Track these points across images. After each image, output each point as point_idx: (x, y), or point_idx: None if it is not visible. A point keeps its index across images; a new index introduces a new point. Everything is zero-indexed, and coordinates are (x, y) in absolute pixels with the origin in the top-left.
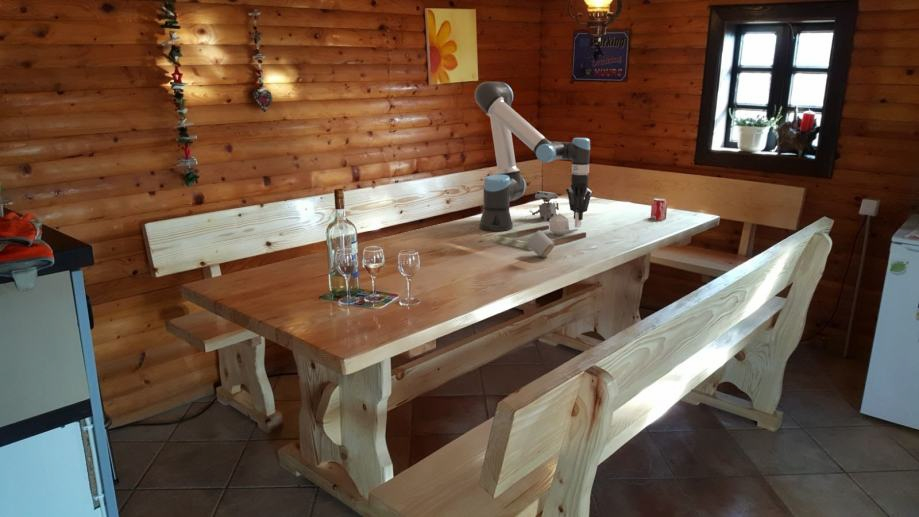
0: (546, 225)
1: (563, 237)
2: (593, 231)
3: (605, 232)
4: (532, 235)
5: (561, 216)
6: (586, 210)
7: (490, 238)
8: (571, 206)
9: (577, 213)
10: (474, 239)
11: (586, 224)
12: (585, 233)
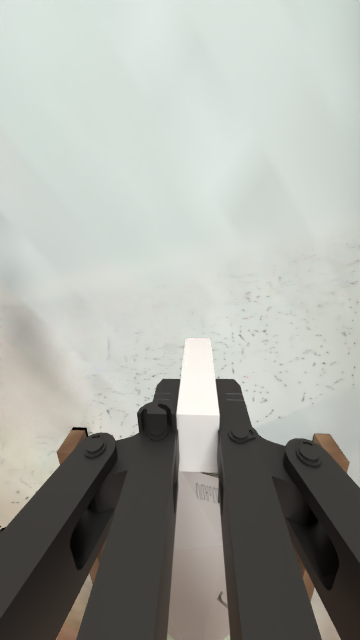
0: (59, 457)
1: (311, 584)
2: (257, 242)
3: (348, 198)
4: None
5: (223, 636)
6: (329, 468)
7: (76, 609)
8: (92, 546)
9: (212, 468)
10: (63, 632)
11: (29, 16)
12: (345, 463)
